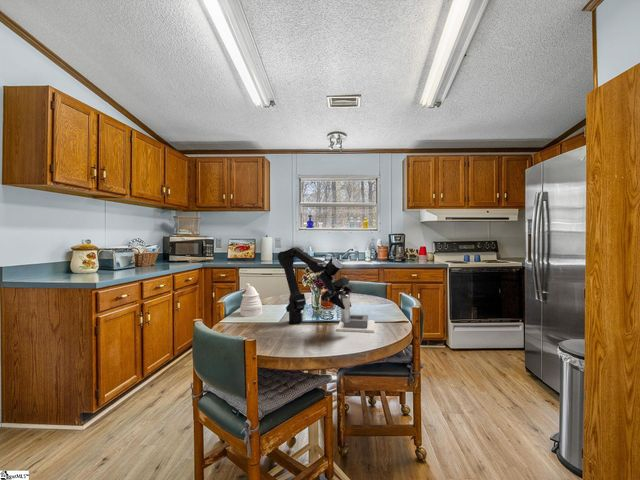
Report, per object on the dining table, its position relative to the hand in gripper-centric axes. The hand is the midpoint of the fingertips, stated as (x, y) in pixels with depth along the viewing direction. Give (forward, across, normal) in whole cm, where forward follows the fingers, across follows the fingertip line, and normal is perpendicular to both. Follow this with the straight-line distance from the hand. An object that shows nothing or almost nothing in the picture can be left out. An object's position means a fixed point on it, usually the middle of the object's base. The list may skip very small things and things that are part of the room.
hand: (347, 307), depth 151 cm
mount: (+5, +15, +14) cm, 21 cm away
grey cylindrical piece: (+4, 0, +6) cm, 7 cm away
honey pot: (-39, -4, +59) cm, 71 cm away
